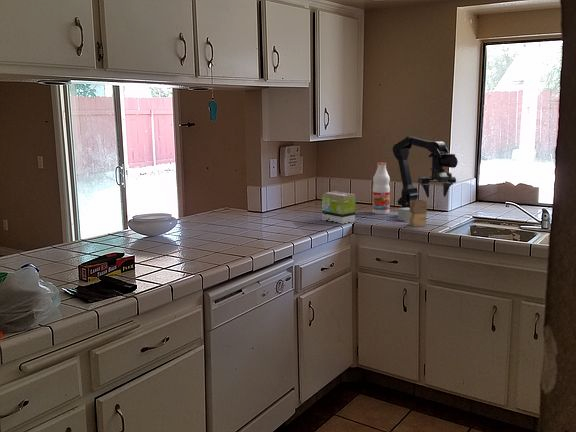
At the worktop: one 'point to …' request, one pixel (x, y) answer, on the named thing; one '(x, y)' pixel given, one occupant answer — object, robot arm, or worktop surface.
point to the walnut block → (418, 206)
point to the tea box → (338, 207)
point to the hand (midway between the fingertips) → (436, 196)
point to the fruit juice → (381, 190)
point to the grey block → (404, 214)
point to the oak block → (418, 219)
